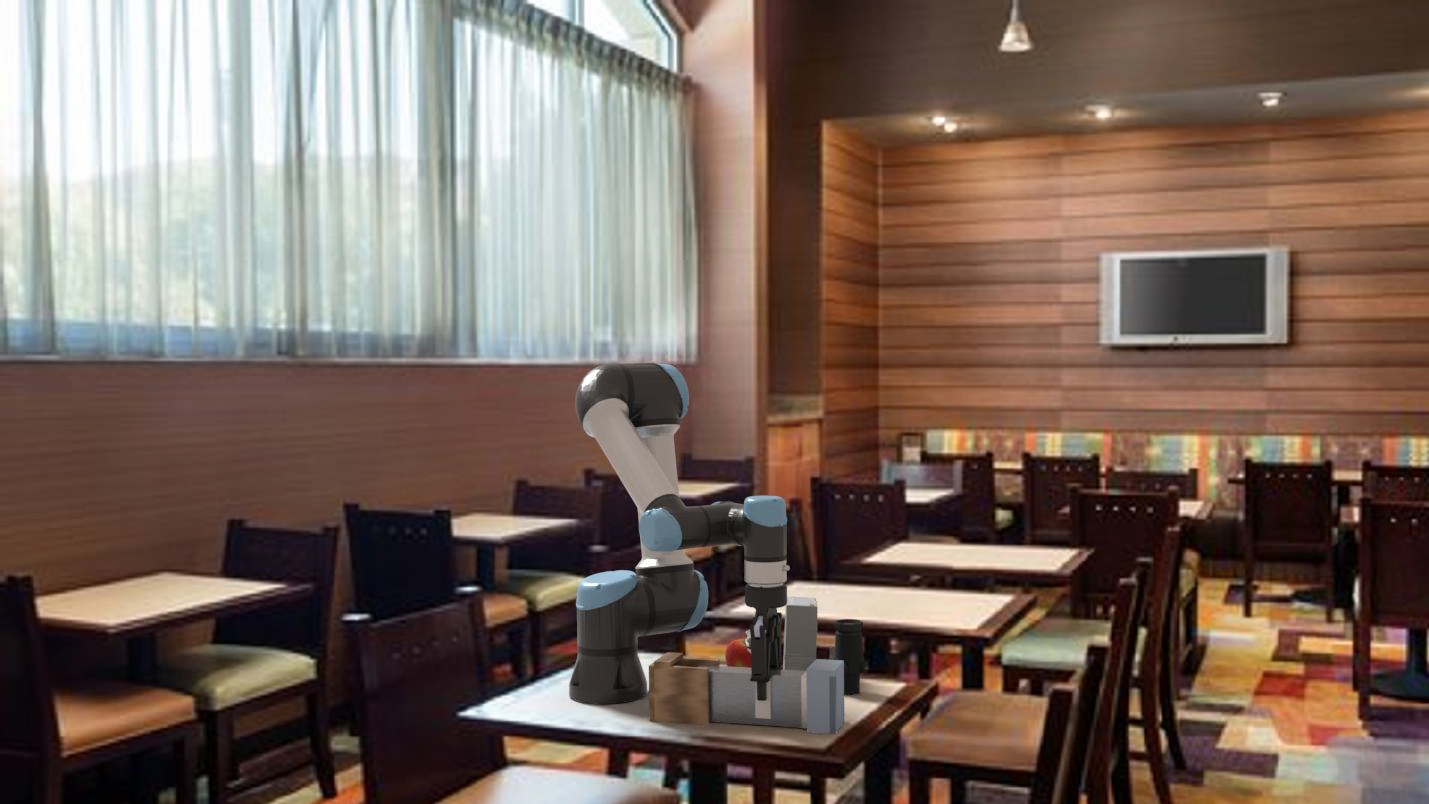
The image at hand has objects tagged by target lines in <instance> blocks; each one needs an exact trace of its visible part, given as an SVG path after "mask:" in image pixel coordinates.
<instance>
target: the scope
mask: <svg viewBox="0 0 1429 804" xmlns="http://www.w3.org/2000/svg"><path fill="white" fill-rule="evenodd" d="M863 627H864V622H863V621H862V620H860V619H855V618H854V619H853V618H842V619H838V620H836V621H835V622H834V628H835V629H836V630H835V636H834V638H835V639H834V647H833V646H832V647H831V646H829V658H825V660H843V661H844V696H857V695H860V694H861V684H860V683H861V681H860V680H861V679H860V677H861V674H867V673H868V672H869V669H870V666H869V663H868V661H865V656H864V640H863V639H864V637H863V631H862V629H863Z"/></svg>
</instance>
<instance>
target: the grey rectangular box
mask: <svg viewBox="0 0 1429 804" xmlns="http://www.w3.org/2000/svg"><path fill="white" fill-rule="evenodd" d="M698 667H704V668H709V715H710V723H711V722H712V723H713V722H714V723H724V724H725V723H728V724H741V725H756V726H769V727H771V726H773V727H784V728H798V729H800V728H801V729H806V728H807V678H806V671H800V670H782V669H770V671H769V681H771V719H766V718H755V682H753V681H750V678H751V668H747V667H730V666H727V665H726V666H725V665H720V666H712V665H700V666H698Z"/></svg>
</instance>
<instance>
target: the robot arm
mask: <svg viewBox="0 0 1429 804" xmlns="http://www.w3.org/2000/svg"><path fill="white" fill-rule="evenodd" d="M574 399H575V400H574V404H575V405H574V406H575V413H576V417H577V420H578V422H579V424H580V427H582V429H583V431H584V432H585V434H587V435H588V436H589V437H590V438H591V437H592V438H595V441H596V442H597V444H598V445H599V446H600V448H601V450H602V451H603V454H604V455H605V456H606V459H608V462H609V463H610V465H611V467H612V468H613V470H614V471H615V473H616V475H617V476H618V478H619V480H620V482H621V483H622V485H623V486H624V488H625V490H626V492H627V493H628V494H629V497H630V498H631V499H632V502H633V503H634V504H635V506H636V507H637V508H636V509H637V513H638V514H637V515H638V516H637V517H638V532H639V537H640V547H641V549H640V550H641V560H640V561H639V562H638V564H637V565H636V566H635V572H634V571H631V570H626V569H625V570H624V569H620V570H614V571H612V570H609V571H604V572H598V573H595V574H594V573H593V574H592V575H588V576H587V577H585V578H583V579H582V580H581V581H580V582H579V584H578V585H577V590H576V591H577V592H576V600H575V606H576V623H577V625H576V627H577V628H576V629H577V630H576V631H577V632H576V633H577V639H576V640H577V658H576V660H575V665H574V667H573V671H572V674H571V676H570V681H569V685H568V687H569V688H568V690H569V691H568V695H569V697H570V698H571V699H572V700H574V701H577V702H579V703H580V702H581V703H587V704H588V703H589V704H599V705H600V704H602V705H603V704H605V705H606V704H618V703H619V704H620V703H627V702H632V701H637V700H639V699H642V698H644V697H646V695H647V694H648V680H647V677H646V674H645V672H644V669H643V665H642V663H641V660H640V657H639V650H638V646H639V645H638V644H639V643H638V638H639V637H646V636H653V635H660V634H661V635H662V634H668V633H679V632H682V631H685V630H691V629H693V628H696V627H697V626H698V625H699V624H700V623H701V622H702V620H703V618H704V617H705V615H706V613H707V609H708V604H709V588H708V583H707V581H706V580H705V577H704V574H702V573H701V572H700V571H698V570H696V569H695V565H694V561H693V560H692V559H691V558H689V556H687V555H686V552H685V551H686V550H690V549H696V548H708V547H709V548H710V547H720V546H740V547H743V548H744V552H743V553H744V564H743V565H744V566H743V567H744V579H743V580H744V582H745V583H747V584H745V586H744V604H745V605H746V606H747V607H749V608H753V609H754V610H755V613H754V615H755V616H753V617H752V624H750V626H749V630H750V634H751V678H750V681H753V682H755V718H766V719H771V681H769V671H770V669H782V670H783V667H782V665H783V664H782V663H783V662H782V618H783V613H782V612H778V609H779V608H783V607H786V604H787V597H788V586H787V585H786V582H787V574H788V573H787V572H788V571H790V569H791V568H790V565H788V564H787V554H788V553H787V552H788V551H787V547H788V546H787V543H788V542H787V541H788V539H787V537H788V536H787V533H788V532H787V531H788V527H787V526H788V525H787V523H788V516H787V509H786V507H787V505H786V501H785V499H784V498H783V497H781V496H778V495H751V496H746V498H745V499H744V502H743V504H742V503H736V502H733V501H729V500H727V501H716V502H713V503H711V504H707V505H695V506H693V505H692V506H691V505H690V506H687V505H686V504H685V503H684V502H683V500H682V499H681V498H680V491H679V490H680V489H679V482H678V481H679V480H678V470H677V460H676V449H675V439H674V436H675V434H676V433H677V431H678V430H679V429H680V428H681V423H680V420H682V419H683V418H684V417H685V416H686V414H687V413H688V410H689V408H688V407H689V405H690V392H689V387H688V384H687V382H686V379H685V378H684V375H682V373H681V372H680V371H679V369H678V368H677V367H675V366H673V365H671V364H667V363H658V362H657V363H656V362H647V363H646V362H645V363H644V362H643V363H606V364H601V365H599V366H596V367H595V368H593V369H591V370H590V371H589V372H587V373H586V374H585V376H584V377H583V379H582V380H581V381H580V383H579V385H578V387H577V390H576V393H575V398H574Z"/></svg>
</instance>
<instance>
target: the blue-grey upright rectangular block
mask: <svg viewBox="0 0 1429 804" xmlns="http://www.w3.org/2000/svg"><path fill="white" fill-rule="evenodd" d="M806 678H807V729H806V733H810V732H814V733H813V734H826V735H827V734H828V735H836V734H837V733H838V731H839V730H840V729H839V728H841V727H842V725H843V724H844V723H845V695H844V661H843V660H826V658H825V659H824V658H823V659H821V658H819V659H818V658H816V660H815V661H814V662H813V663H812V664H811V665H810V666H809V667H808V668H807V669H806ZM838 729H839V730H838ZM836 732H837V733H836Z"/></svg>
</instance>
